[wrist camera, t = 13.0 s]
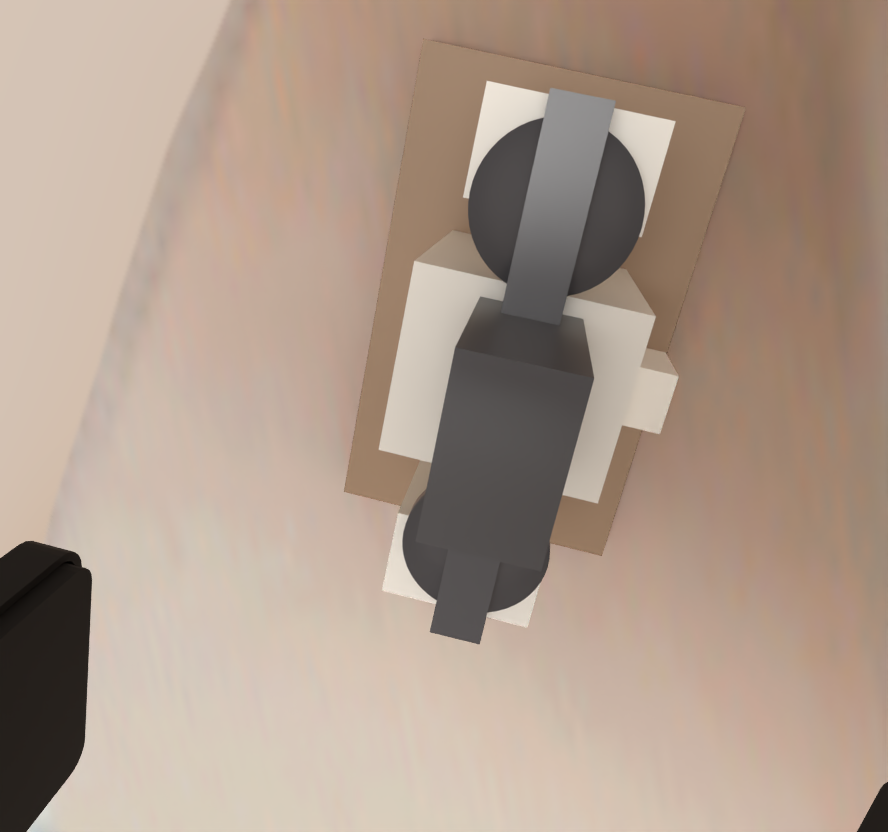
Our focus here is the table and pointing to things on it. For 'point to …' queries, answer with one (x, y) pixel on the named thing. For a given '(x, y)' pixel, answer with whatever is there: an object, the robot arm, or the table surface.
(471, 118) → the boxes on tan tray
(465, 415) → the grey bar with discs
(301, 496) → the table surface
